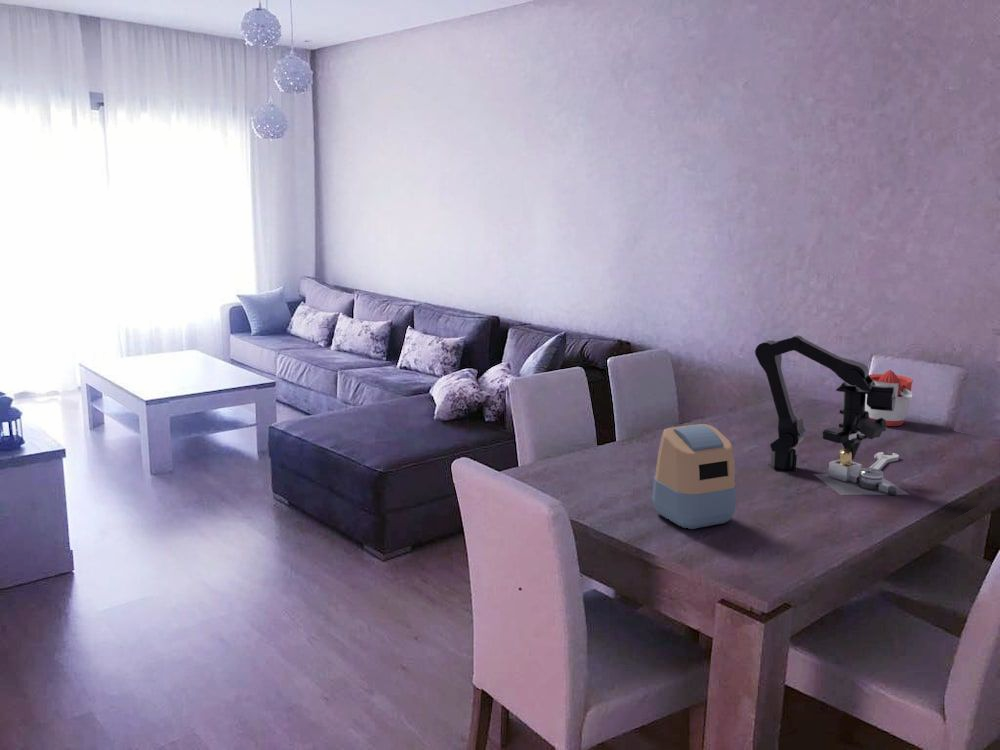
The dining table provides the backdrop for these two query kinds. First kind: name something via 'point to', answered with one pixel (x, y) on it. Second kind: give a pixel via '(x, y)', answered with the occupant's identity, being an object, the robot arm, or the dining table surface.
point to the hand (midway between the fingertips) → (851, 459)
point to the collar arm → (854, 475)
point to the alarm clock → (695, 477)
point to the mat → (853, 487)
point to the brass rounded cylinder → (845, 457)
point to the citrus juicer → (901, 394)
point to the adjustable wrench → (883, 460)
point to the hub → (870, 479)
